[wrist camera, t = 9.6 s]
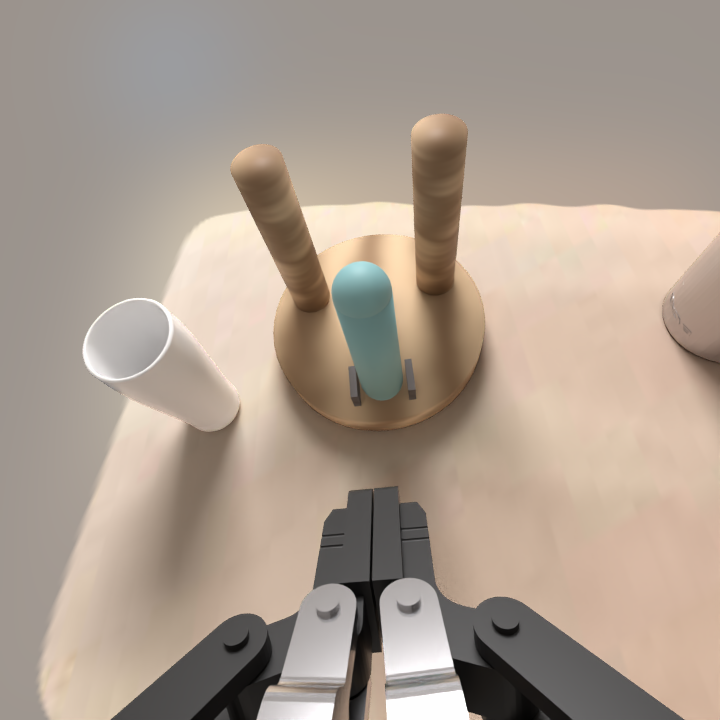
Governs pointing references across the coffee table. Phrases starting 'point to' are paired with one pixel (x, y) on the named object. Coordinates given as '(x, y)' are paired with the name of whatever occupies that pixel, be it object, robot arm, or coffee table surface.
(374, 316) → the teal capsule cylinder
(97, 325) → the drinking glass
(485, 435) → the coffee table surface
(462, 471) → the coffee table surface
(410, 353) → the stool
